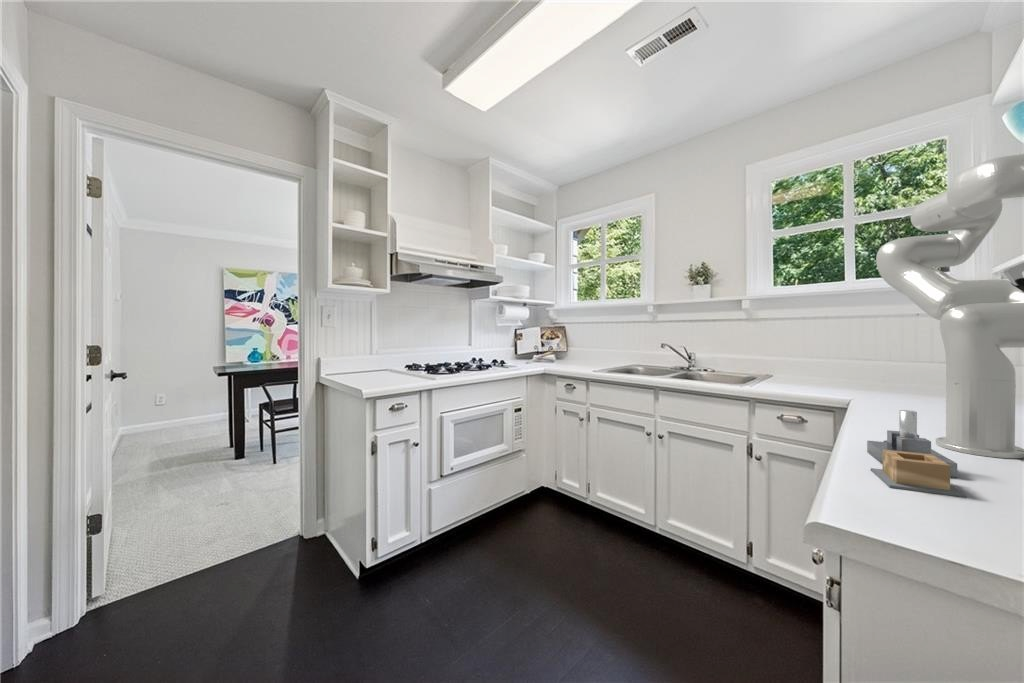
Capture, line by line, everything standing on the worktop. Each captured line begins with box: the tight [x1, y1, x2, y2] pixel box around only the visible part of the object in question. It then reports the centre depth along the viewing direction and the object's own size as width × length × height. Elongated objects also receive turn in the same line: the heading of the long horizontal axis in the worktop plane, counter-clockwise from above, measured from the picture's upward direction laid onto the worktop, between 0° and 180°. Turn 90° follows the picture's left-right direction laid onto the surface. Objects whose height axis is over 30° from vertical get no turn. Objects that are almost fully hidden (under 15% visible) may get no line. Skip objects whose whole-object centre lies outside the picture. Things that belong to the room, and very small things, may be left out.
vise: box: [866, 409, 958, 478], centre depth 78 cm, size 17×9×10 cm, turn 152°
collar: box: [882, 450, 951, 490], centre depth 67 cm, size 6×6×4 cm
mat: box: [870, 467, 968, 498], centre depth 67 cm, size 9×9×1 cm
